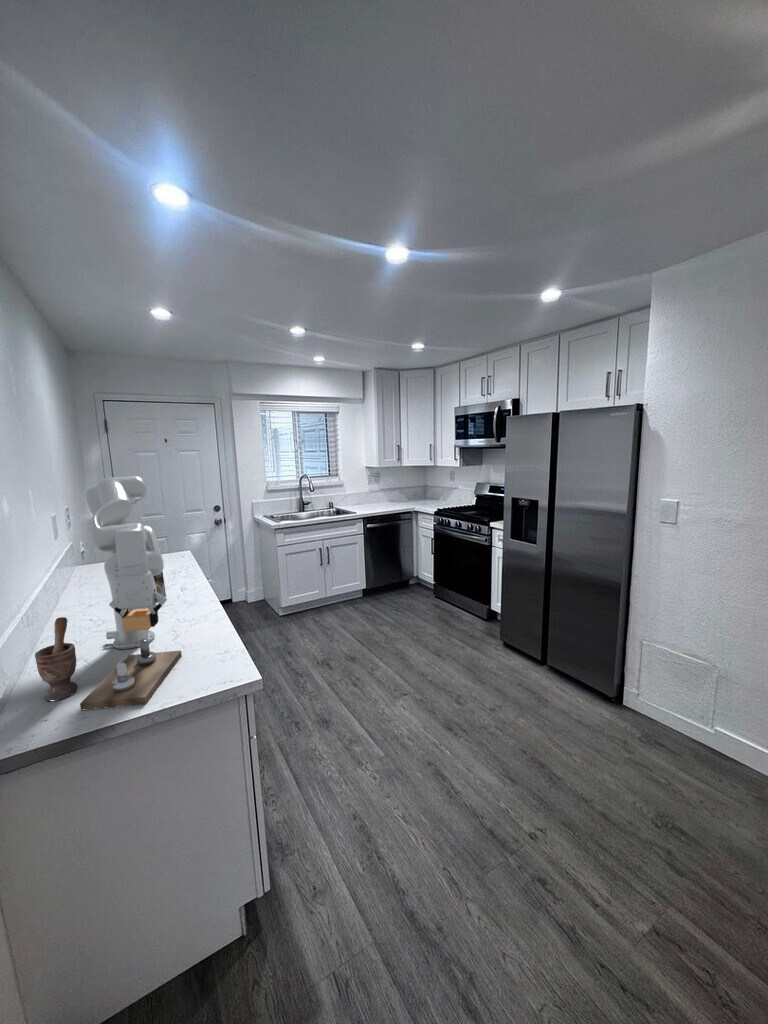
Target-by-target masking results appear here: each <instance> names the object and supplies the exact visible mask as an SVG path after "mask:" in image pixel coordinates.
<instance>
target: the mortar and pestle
mask: <svg viewBox="0 0 768 1024" xmlns="http://www.w3.org/2000/svg"><path fill="white" fill-rule="evenodd" d="M67 627H68V618H67V617H63V616H62V617H56V619H55V621H54V644H53V645H49V646H46V647H44V648H41V649H40V650H38V651H35V654H34V658H35V663H36V669H37V671H38V674H39V677H40V678H41V679H42V681H43V682H45V683H46V684H48V685H49V688H48V689H46V691H45V693H44V699H45V698H46V699H47V700H46V699H45V700H46V701H48V700H57V699H60V700H62V699H61V698H63V699H65V698H68V697H71V696H72V695H73V693H74V694H75V693H77V691H78V690H77V689H79V686H78V684H77V683H76V682H74V681H72V680H71V678H72V676H74V673H75V672H76V666H77V655H76V648H75V644H73V643H70V642H69V643H68V642H65V637H66V631H67ZM71 694H72V695H71ZM57 701H58V700H57Z"/></svg>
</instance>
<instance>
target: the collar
mask: <svg viewBox="0 0 768 1024" xmlns="http://www.w3.org/2000/svg"><path fill="white" fill-rule="evenodd" d="M150 614H151V612H150V611H149V609H148V608H146V609H138V610H132V611H131V612H130V613H129V614H128V615H126V616H125V617H124V618H123V619H122V620H123V627H124V632H127V631H140V630H149V631H150V629H152V627H151V621H150Z"/></svg>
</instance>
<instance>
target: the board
mask: <svg viewBox="0 0 768 1024" xmlns="http://www.w3.org/2000/svg"><path fill="white" fill-rule="evenodd" d="M140 654H141V653H139V654H138V653H137V654H129V655H127V656H126V657H125V658H124V659H123V660H122V661H121V662H124V663H125V664H126V667H127V674H128V676H134V680H135V686H134V687H133V688H132V689H130V690H128V691H125V692H121V693H115V692H113V688H112V682H113V681H114V680H116V679H117V672H116V667H115V668H114V669H113V670H112V671H111V672H110V673H109V674H108V675H107V676H106V677H105V678H104V679H103V680H102V681H101V682H99V684H98V685H97V686H95V688H94V689H93V690H92V691H91V692H90V693H89V694H88V695H87V696H86V697H85V698H84V699H83V700H82V701H81V702H80V703H79V707H80V711H81V710H82V711H84V710H83V709H92V710H95V709H94V708H102V709H106V708H105V707H112V708H118V707H117V706H122V707H128V706H129V707H130V705H132V706H140V704H141V705H147V704H148V703H149V701H150V700H151V698H152V697H153V696H154V695H155V693H156V692H157V690H158V689H159V688H160V687H161V686H162V684H163V682H164V681H165V679H167V677H168V676H169V674H170V673H171V671H172V670H173V669H174V667H175V666H176V665H177V664H178V662H179V661H180V660H181V658H182V657H183V656H182V650H172V651H170V650H169V651H160V652H155V654H156V661H155V662H154V663H152V664H150V665H147V666H137V662H136V657H137V656H138V655H140ZM157 688H158V689H157ZM155 691H156V692H155ZM154 692H155V693H154ZM152 695H153V696H152ZM151 696H152V697H151ZM149 699H150V700H149ZM127 705H128V706H127Z"/></svg>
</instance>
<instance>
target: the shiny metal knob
mask: <svg viewBox="0 0 768 1024" xmlns="http://www.w3.org/2000/svg"><path fill="white" fill-rule="evenodd" d="M139 644H140V646H139V649H140V653H139V654H140V655H138V656H137V657H136V662H137V666H147V665H150V664H152V663H154V662H155V661H156V654H155V653H156V652H154V651H150V642H148V639H142V640H140V641H139Z"/></svg>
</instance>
